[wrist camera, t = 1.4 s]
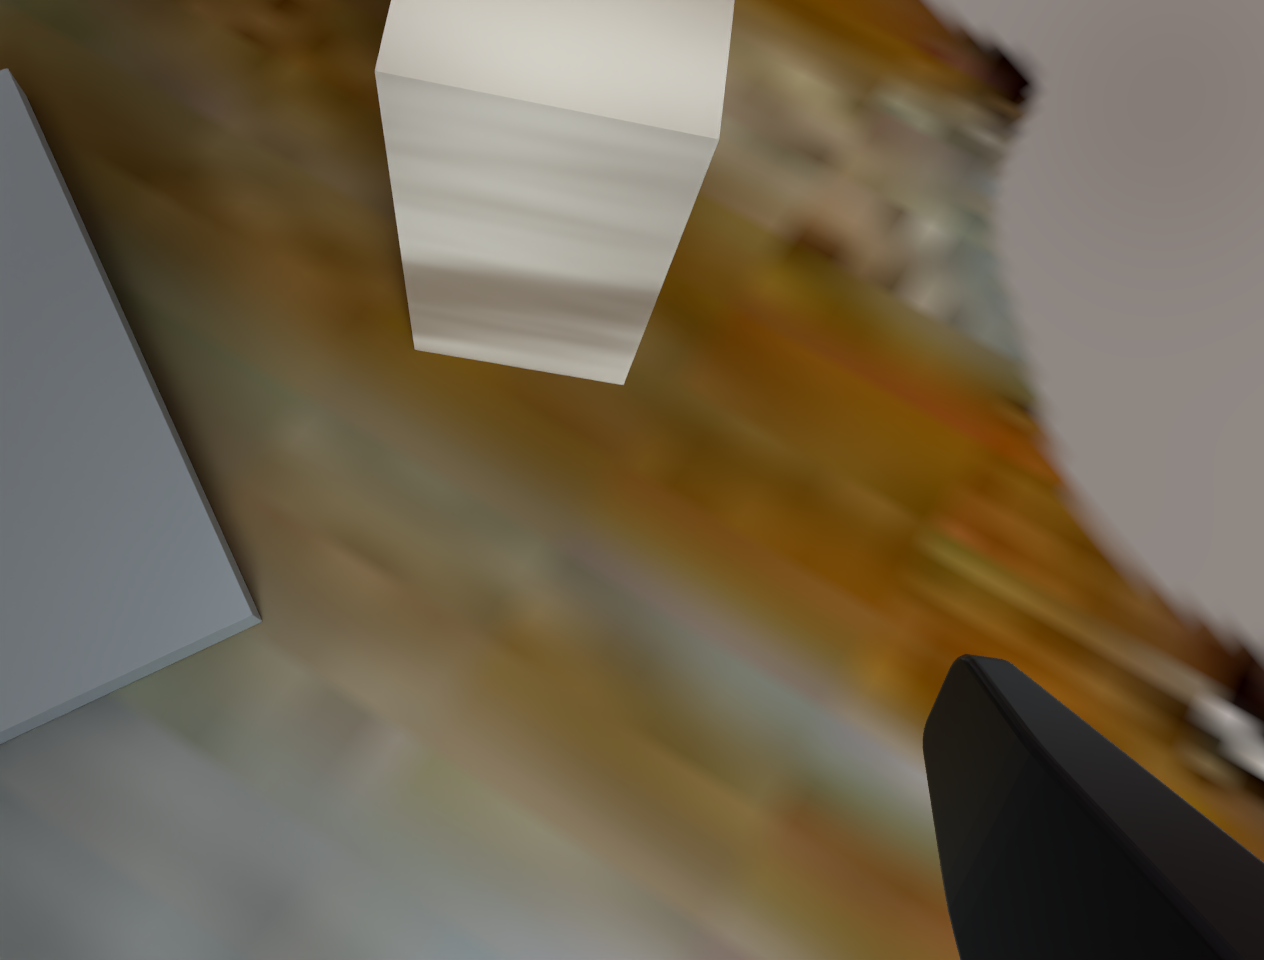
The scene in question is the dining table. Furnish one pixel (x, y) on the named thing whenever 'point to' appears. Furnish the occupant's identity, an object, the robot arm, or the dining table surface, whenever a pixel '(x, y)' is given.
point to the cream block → (546, 168)
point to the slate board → (87, 469)
